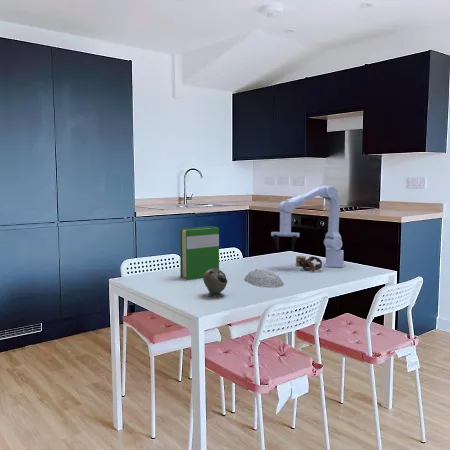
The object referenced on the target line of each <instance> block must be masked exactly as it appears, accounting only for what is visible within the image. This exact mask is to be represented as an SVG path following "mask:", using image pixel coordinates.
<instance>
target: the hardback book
mask: <svg viewBox="0 0 450 450" xmlns="http://www.w3.org/2000/svg"><path fill="white" fill-rule="evenodd" d="M179 261H180V265H179V266H180V273H179V274H180V276H179V277H180V278H185V280H186V281H193V280H200V279H203V276H204V274H205V272H206V271H208V270H210V269H212V268H215V266H216V267H217V268H218V269H219V270H220V228H219V227H217V226H199V227H188V228H187V227H186V228H179Z"/></svg>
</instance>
